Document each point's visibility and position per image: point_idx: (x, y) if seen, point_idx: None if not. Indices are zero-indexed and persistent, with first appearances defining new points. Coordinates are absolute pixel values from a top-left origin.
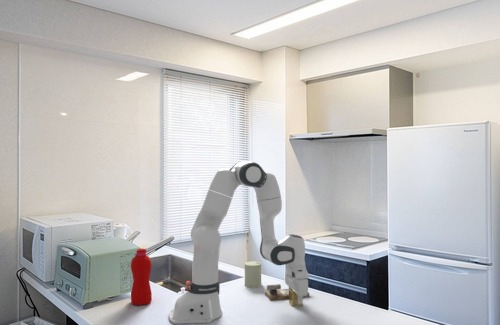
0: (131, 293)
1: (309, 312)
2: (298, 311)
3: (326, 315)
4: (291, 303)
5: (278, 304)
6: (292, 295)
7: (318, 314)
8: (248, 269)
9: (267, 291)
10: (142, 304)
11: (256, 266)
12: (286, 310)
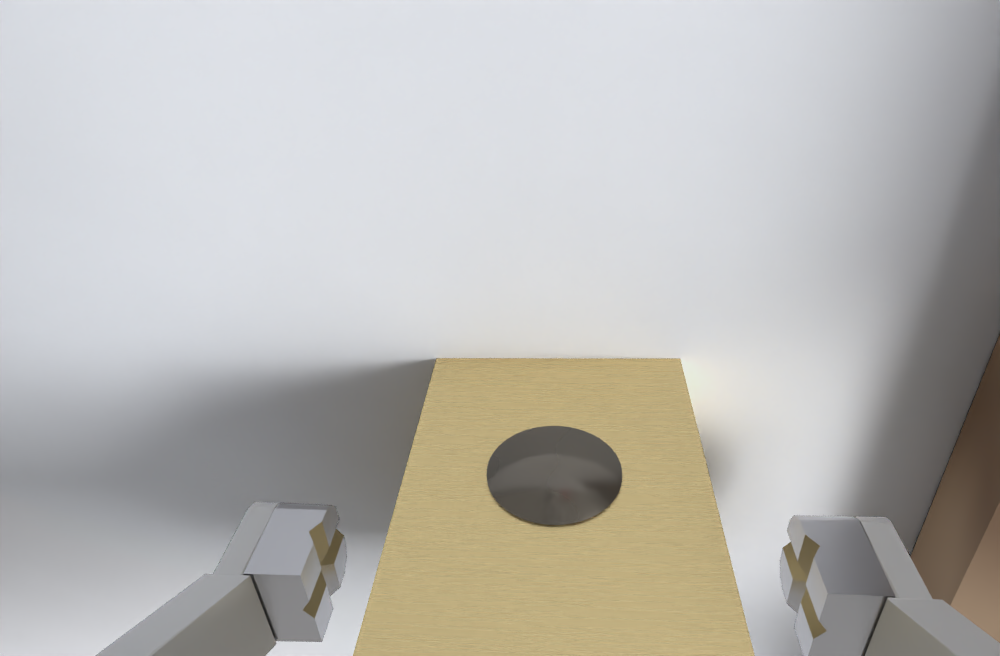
0: None
1: (89, 516)
2: (115, 373)
3: (5, 649)
4: (488, 385)
5: (647, 42)
6: (376, 578)
7: (22, 588)
8: None
9: None
10: None
11: None
12: (152, 138)
